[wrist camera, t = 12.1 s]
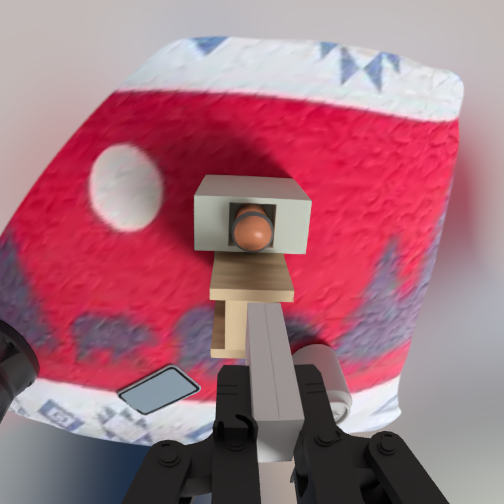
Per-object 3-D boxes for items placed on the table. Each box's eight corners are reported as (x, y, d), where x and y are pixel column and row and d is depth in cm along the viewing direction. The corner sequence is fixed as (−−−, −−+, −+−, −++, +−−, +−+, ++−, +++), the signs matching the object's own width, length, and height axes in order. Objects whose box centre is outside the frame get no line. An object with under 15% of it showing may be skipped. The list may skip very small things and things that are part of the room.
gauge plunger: (231, 234, 30) (231, 252, 27) (233, 199, 29) (232, 212, 25) (268, 236, 31) (272, 253, 27) (270, 201, 29) (275, 214, 26)
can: (296, 337, 46) (311, 398, 35) (342, 342, 47) (365, 400, 36) (281, 372, 49) (291, 433, 38) (324, 376, 49) (341, 433, 39)
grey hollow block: (205, 216, 38) (194, 250, 29) (205, 174, 36) (194, 195, 27) (289, 219, 38) (305, 253, 29) (293, 178, 36) (311, 200, 27)
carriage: (216, 278, 40) (207, 357, 27) (217, 225, 37) (205, 288, 24) (272, 280, 40) (287, 358, 27) (277, 227, 38) (298, 290, 24)
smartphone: (203, 389, 49) (144, 416, 52) (203, 386, 50) (145, 413, 53) (172, 363, 47) (114, 394, 49) (173, 360, 47) (115, 391, 50)
